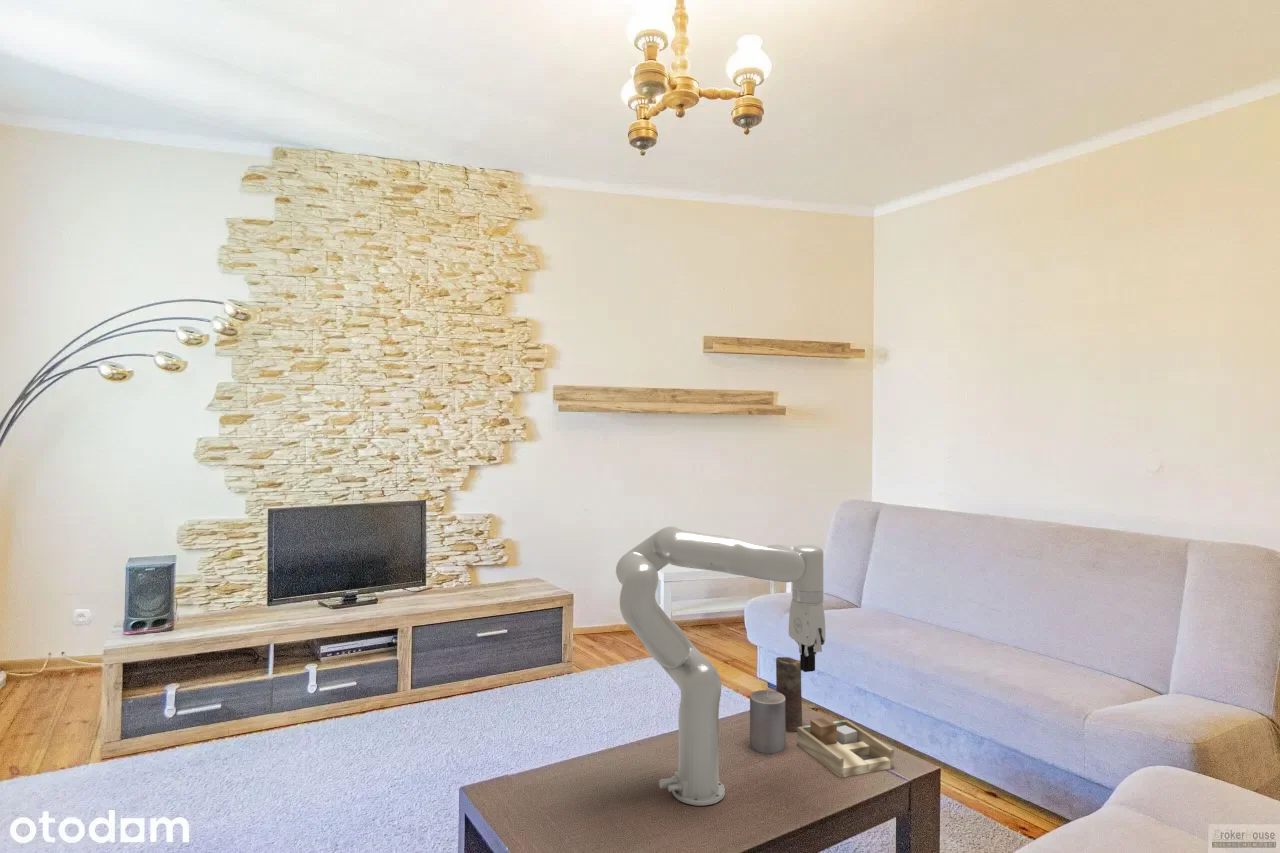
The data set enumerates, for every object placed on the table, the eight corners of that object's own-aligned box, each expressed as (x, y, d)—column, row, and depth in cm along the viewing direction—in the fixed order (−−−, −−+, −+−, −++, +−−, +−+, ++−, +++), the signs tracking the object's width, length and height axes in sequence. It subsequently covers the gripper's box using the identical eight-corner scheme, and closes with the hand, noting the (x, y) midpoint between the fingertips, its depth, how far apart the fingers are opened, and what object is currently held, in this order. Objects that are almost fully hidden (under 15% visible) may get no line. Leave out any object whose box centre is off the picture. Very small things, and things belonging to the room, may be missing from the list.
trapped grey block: (845, 751, 190) (845, 734, 191) (833, 744, 194) (833, 728, 194) (857, 747, 193) (857, 731, 193) (845, 741, 197) (845, 725, 197)
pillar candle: (753, 736, 200) (753, 683, 200) (788, 741, 197) (787, 687, 197) (746, 751, 191) (746, 696, 191) (783, 757, 188) (783, 700, 188)
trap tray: (840, 779, 176) (840, 758, 176) (797, 745, 195) (797, 727, 195) (893, 769, 181) (893, 749, 181) (846, 737, 200) (846, 719, 200)
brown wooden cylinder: (772, 723, 210) (772, 655, 210) (795, 721, 211) (795, 654, 211) (782, 734, 202) (782, 663, 202) (806, 732, 203) (806, 662, 204)
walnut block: (820, 745, 189) (820, 726, 189) (810, 738, 194) (810, 719, 194) (836, 743, 190) (836, 724, 190) (826, 735, 195) (826, 717, 195)
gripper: (779, 590, 181) (778, 662, 181) (811, 604, 167) (811, 682, 167) (804, 588, 184) (804, 659, 184) (838, 601, 170) (838, 678, 170)
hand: (807, 670), depth 175 cm, fingers closed
